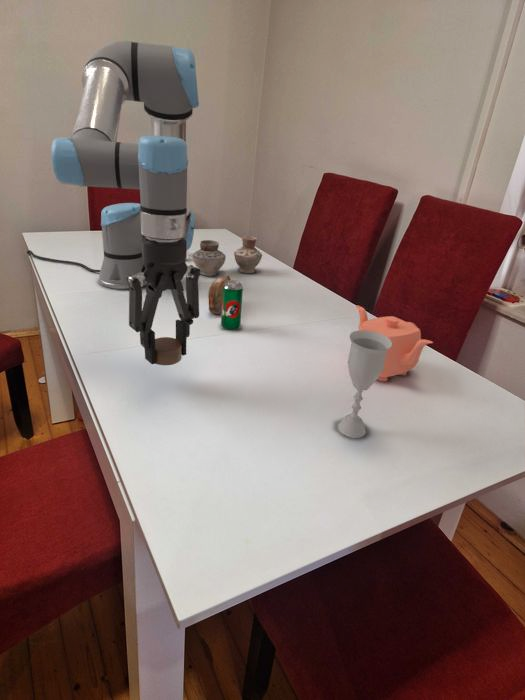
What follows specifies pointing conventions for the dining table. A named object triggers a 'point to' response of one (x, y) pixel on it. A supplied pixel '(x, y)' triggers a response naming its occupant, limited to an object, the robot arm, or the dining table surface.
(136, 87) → the robot arm
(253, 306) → the dining table surface
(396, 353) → the teapot
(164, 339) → the brown short cylinder
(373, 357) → the chalice
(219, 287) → the bread slice
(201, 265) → the pottery
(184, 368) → the dining table surface
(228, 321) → the soda can
